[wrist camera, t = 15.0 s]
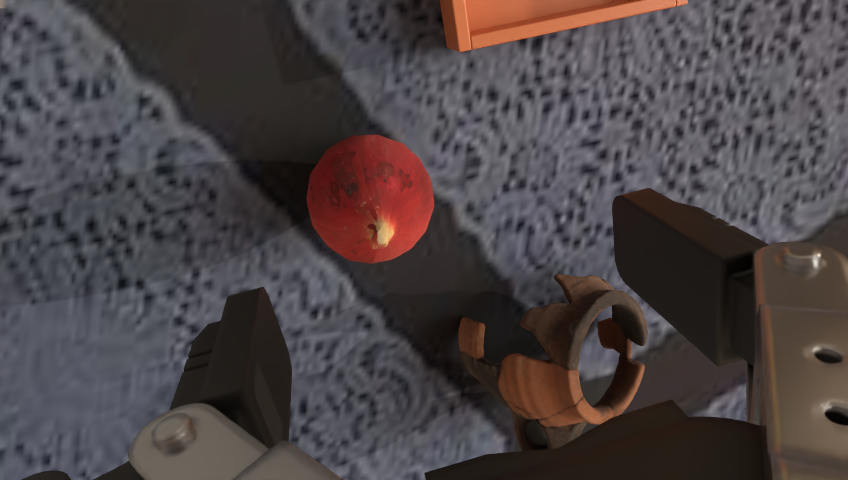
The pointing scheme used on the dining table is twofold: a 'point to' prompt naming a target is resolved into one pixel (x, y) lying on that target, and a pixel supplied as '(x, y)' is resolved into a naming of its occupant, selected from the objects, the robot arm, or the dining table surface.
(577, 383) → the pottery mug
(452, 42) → the terracotta tray
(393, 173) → the onion
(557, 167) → the dining table surface
